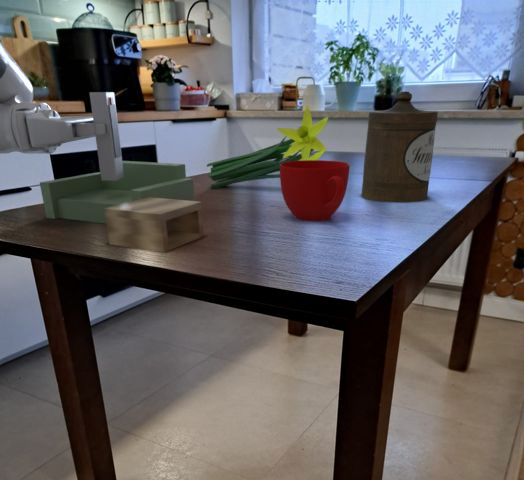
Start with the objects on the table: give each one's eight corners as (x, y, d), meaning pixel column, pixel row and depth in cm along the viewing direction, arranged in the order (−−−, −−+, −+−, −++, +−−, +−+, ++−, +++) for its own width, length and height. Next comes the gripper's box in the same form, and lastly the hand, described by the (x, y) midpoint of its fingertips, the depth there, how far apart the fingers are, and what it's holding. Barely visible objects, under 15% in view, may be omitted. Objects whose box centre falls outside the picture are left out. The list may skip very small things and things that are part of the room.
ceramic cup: (306, 233, 90) (307, 173, 85) (269, 214, 104) (269, 162, 99) (370, 226, 94) (375, 168, 89) (326, 209, 108) (328, 158, 104)
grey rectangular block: (101, 180, 98) (89, 92, 91) (109, 177, 102) (98, 92, 95) (118, 180, 98) (107, 92, 91) (125, 177, 102) (115, 92, 95)
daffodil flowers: (233, 184, 145) (353, 152, 128) (220, 221, 137) (345, 192, 121) (202, 133, 133) (330, 91, 116) (186, 170, 125) (320, 131, 109)
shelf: (109, 246, 84) (103, 208, 81) (152, 231, 92) (148, 196, 90) (164, 253, 79) (160, 214, 76) (203, 237, 88) (201, 201, 85)
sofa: (46, 219, 103) (36, 168, 98) (106, 204, 116) (99, 159, 112) (145, 231, 92) (139, 175, 88) (198, 213, 106) (195, 164, 102)
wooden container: (422, 205, 111) (436, 90, 101) (354, 201, 116) (361, 91, 107) (431, 194, 123) (444, 91, 113) (369, 190, 128) (377, 92, 119)
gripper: (65, 142, 107) (130, 141, 107) (16, 151, 89) (94, 151, 88) (59, 108, 105) (126, 108, 104) (7, 111, 86) (88, 111, 85)
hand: (111, 128), depth 96 cm, fingers closed on grey rectangular block, 4 cm apart
